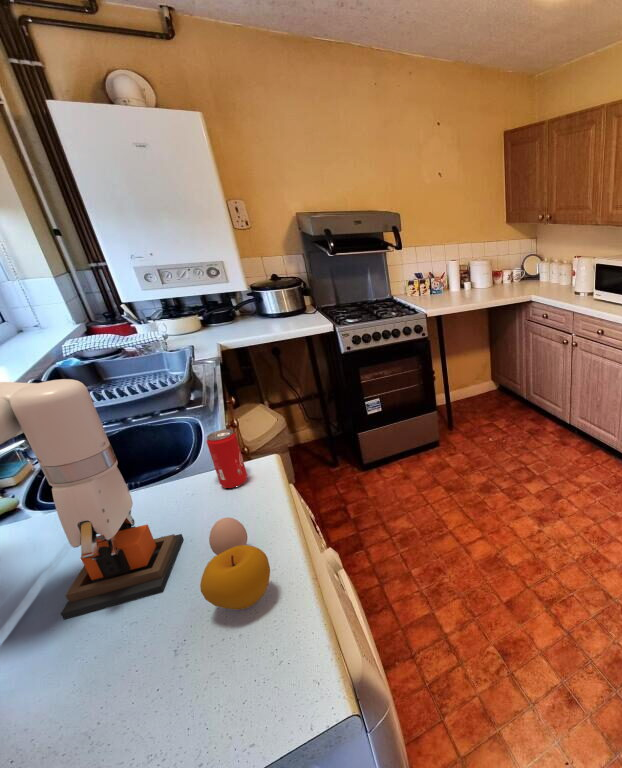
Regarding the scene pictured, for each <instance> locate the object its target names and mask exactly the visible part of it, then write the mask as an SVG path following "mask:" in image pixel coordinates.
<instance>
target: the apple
mask: <svg viewBox="0 0 622 768" xmlns="http://www.w3.org/2000/svg"><path fill="white" fill-rule="evenodd" d="M270 577H271V567H270V562H269V559H268V556H267V554H266V553H265V552H264V551H263V550H262V549H260V548H259V547H256V546H252V545H247V544H246V545H241V546H236V547H233V548H231V549H228V550H226V551H224V552H222V553H220V554H219V555H215V556H213V557H212V559H211V560H210V561H209V562H207V564H206V565H205V568H204V570H203V573H202V576H201V580H200V592H201V594H202V596H203V598H204V599H205V601H207V602H209V603H210V604H211V605H213V606H214V607H219V608H223V609H226V610H227V609H228V610H233V611H234V610H236V611H237V610H238V611H240V610H245V609H248V608H251V607H252V606H254V605H255V604H256V603H257V602H258V601H260V600H261V598H262V597H263V596H264V595H265V593H266V591H267V588H268V586H269V582H270V579H271V578H270Z"/></svg>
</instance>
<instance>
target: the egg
mask: <svg viewBox="0 0 622 768" xmlns="http://www.w3.org/2000/svg"><path fill="white" fill-rule="evenodd" d="M208 543H209V547H210V550H211V551H212V552H213V553H214V555H215V556H217V555H219V554H220V553H222V552H224V551H226V550H228V549H231V548H233V547H236V546H241V545H247V543H248V532H247V529H246V528H245V526H244V525H243V523H241V521H239V520H238V519H235V518H233V517H222V518H219V520H217V521H215V523H214V524H213V525H212V527H211V529H210V532H209V537H208Z"/></svg>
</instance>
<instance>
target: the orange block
mask: <svg viewBox="0 0 622 768" xmlns="http://www.w3.org/2000/svg"><path fill="white" fill-rule="evenodd" d="M133 527H134V526H133ZM100 536H104V535H100V534H99V535H96V537H100ZM115 538H116V542H117V546H118V550H123V552H124V555H125V557H126V559H127V561H128V564H129V566H130V570H133V569H136V568H140V567H144V566H147V565H148V563H149V560H150V558H151V556H152V554H153V552H154V550H155V547H156V544H155V541H154V539H155V538H154V537H153V534H152V532H151V528H150V527H149V524H143V525H139V526H135V527H134V528H130V529H125V530H121V531H118V532H117V533H116V534H115ZM104 546H105V547H109V545H108V541H103V542H99V543H98V547H104ZM80 559H81V561H82V564H83V567H84V566H85V568H86V570H87V572H88V574H89V576H90V578H91V580H94V579H98V578H102V577H103V575H102V573H101V571H100V569H99V567H98V565H97V562H96V560H92V558H82V556H81V555H80Z"/></svg>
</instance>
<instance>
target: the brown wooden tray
mask: <svg viewBox="0 0 622 768" xmlns="http://www.w3.org/2000/svg"><path fill="white" fill-rule="evenodd" d="M153 539H154V541H155V544H156V547H155V550H154V552H153V554H152V556H151V558H150V560H149V563H148V565H147V566H144V567H140V568H136V569H133V570H129V572H127V573H124V574H120V575H116V576H112V577H109V578H104V577H102V578H98V579H94V580H91V578H90V576H89V574H88V572H87V570H86V568H85V566H84V565H83V567H82V569H81V570H80V571H79V573H78V575H77V576H76V578H75V580H74V581H73V583H71V586H70V587H69V589H68V590H67V592H66V594H65V598H66V600H67V603H66V604H65V606H64V607H63V609H62V610H61V611H60V616H61V618H62V619H63V620H67V619H71V618H74V617H78V616H81V615H85V614H88V613H93V612H95V611H100V610H102V609H106V608H109V607H114V606H117V605H120V604H124V603H127V602H131V601H135V600H138V599H143V598H146V597H149V596H153V595H156V594H159V593H163V592H164V590H165V588H166V585H167V583H168V580H169V577H170V575H171V572H172V570H173V567H174V565H175V562H176V559H177V557H178V554H179V551H180V549H181V547H182V545H183V542H184V536H183V534H182V533H179V534H174V533H173V534H169V535H165V536H160V537H155V538H153Z"/></svg>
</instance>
